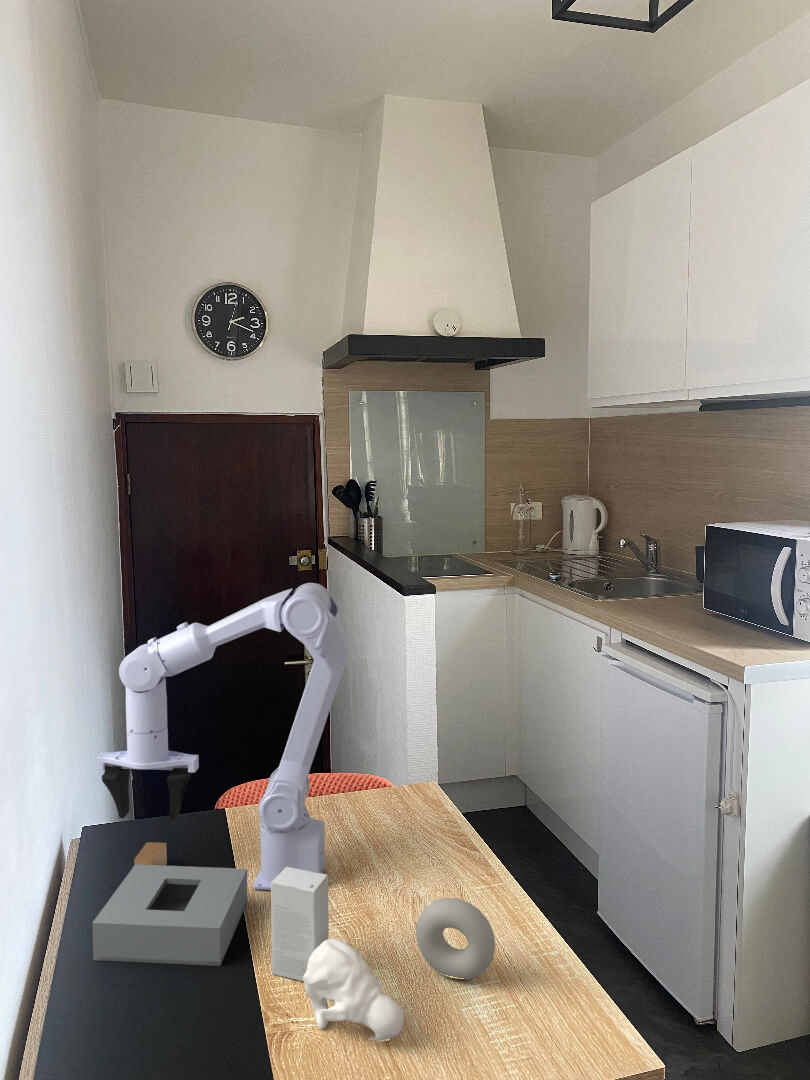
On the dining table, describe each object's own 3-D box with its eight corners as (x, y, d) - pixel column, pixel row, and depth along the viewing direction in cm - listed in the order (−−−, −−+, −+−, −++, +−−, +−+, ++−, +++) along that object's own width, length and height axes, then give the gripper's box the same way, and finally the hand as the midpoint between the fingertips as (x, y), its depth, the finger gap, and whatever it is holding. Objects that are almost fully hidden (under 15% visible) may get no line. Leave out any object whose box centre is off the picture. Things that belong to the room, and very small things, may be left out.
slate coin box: (247, 902, 114) (247, 868, 113) (220, 965, 100) (219, 928, 99) (136, 897, 114) (135, 864, 114) (93, 960, 100) (92, 922, 100)
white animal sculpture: (334, 921, 95) (421, 966, 88) (328, 985, 96) (413, 1035, 90) (299, 949, 89) (389, 999, 83) (294, 1017, 91) (381, 1071, 84)
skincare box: (329, 964, 100) (330, 874, 99) (315, 986, 96) (315, 892, 95) (286, 954, 102) (285, 865, 101) (269, 974, 98) (269, 882, 97)
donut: (411, 974, 99) (412, 898, 97) (420, 958, 102) (422, 884, 101) (490, 996, 95) (492, 917, 94) (497, 978, 98) (500, 901, 97)
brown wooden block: (166, 867, 123) (166, 842, 122) (155, 885, 118) (154, 859, 117) (147, 867, 123) (146, 842, 122) (135, 884, 118) (134, 858, 117)
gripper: (204, 719, 121) (205, 805, 123) (109, 716, 122) (112, 802, 123) (189, 736, 114) (191, 826, 116) (89, 733, 115) (92, 823, 116)
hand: (149, 815), depth 119 cm, fingers open, 7 cm apart
